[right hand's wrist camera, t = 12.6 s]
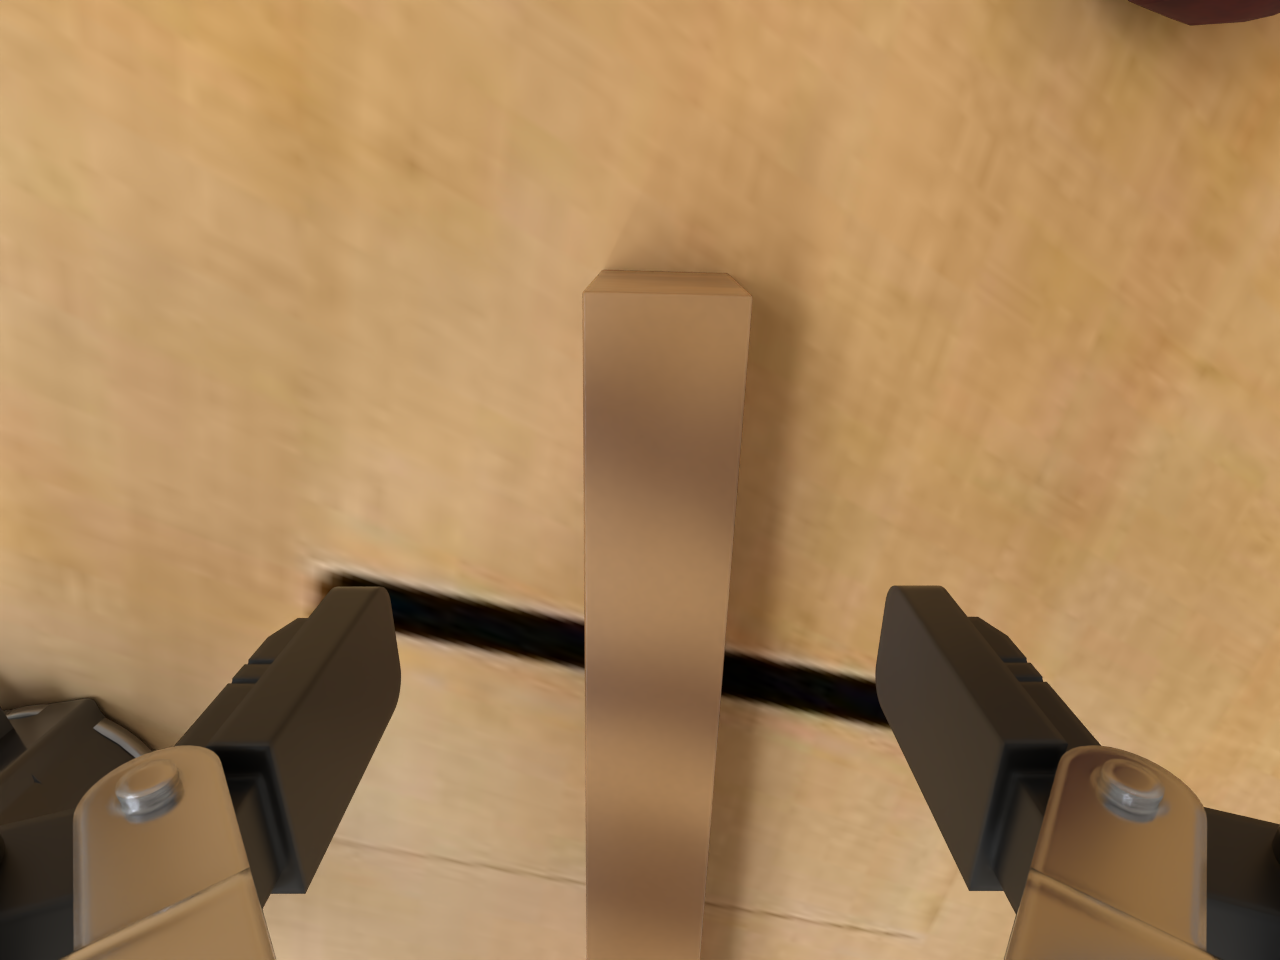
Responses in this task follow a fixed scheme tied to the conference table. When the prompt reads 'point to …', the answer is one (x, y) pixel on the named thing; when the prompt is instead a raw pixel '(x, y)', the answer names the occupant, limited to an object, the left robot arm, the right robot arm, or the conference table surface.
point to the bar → (656, 593)
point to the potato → (1212, 10)
